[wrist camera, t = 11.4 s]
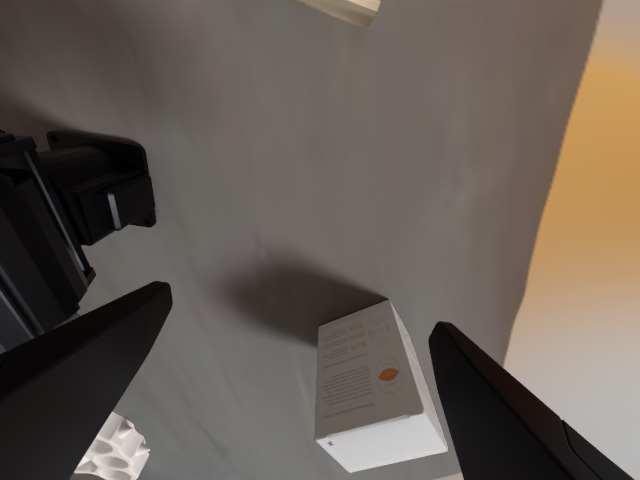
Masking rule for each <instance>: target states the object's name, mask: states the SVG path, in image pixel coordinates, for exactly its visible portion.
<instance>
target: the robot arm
mask: <svg viewBox="0 0 640 480" xmlns="http://www.w3.org/2000/svg"><path fill="white" fill-rule="evenodd" d="M56 137H57V138H58V140H57V139H56ZM47 139H48V143H49V146H50V149H51V150H50V151H45V152H40V153H37V152H36V150H35V148H37V146H36V144H35V142H34V140H33V137H32V136H14V134H11V133H5V131H1V130H0V480H69V479H70V477H71V476H72V474H73V473H74V471H75V469H76V468H77V466H78V465H79V463H80V462H81V460H82V458H83V457H84V455H85V454H86V452H87V450H88V449H89V447H90V446H91V444H92V443H93V441H94V439H95V438H96V436H97V435H98V433H99V431H100V430H101V428H102V427H103V425H104V424H105V422H106V420H107V419H108V417H109V416H110V414H111V413H112V411H113V409H114V408H115V406H116V405H117V403H118V401H119V400H120V398H121V397H122V395H123V394H124V392H125V390H126V389H127V387H128V386H129V384H130V383H131V381H132V379H133V378H134V376H135V375H136V373H137V371H138V370H139V368H140V367H141V365H142V364H143V362H144V360H145V359H146V357H147V355H148V354H149V352H150V350H151V348H152V346H153V345H154V342H155V340H156V338H157V336H158V334H159V332H160V330H161V328H162V326H163V324H164V322H165V320H166V318H167V316H168V314H169V312H170V310H171V308H172V303H173V301H172V294H171V287H170V284H169V283H167V282H161V281H154V282H152V283H150V284H148V285H145V286H143V287H141V288H139V289H137V290H135V291H133V292H131V293H129V294H126V295H124V296H122V297H120V298H118V299H116V300H114V301H112V302H110V303H107V304H105V305H103V306H101V307H99V308H97V309H95V310H93V311H91V312H88V313H86V314H84V315H82V316H80V317H78V318H76V319H74V320H71V321H69V322H67V323H65V322H66V321H67V320H69V319H70V318H71V317H72V316H73V315H74V314H76V312H77V311H78V310H79V309H80V306H79V304H78V303H79V302H80V301H81V299H82V298H83V296H84V294H85V293H86V291H87V288H88V287H89V285H90V284H91V282H92V281H93V279H94V278H95V276H96V273H95V271H94V269H93V267H90V265H89V263H88V261H87V259H86V256H85V254H84V252H83V250H82V248H81V246H82V245H88V246H92V245H93V244H95V243H96V242H98V241H100V240H101V239H103V238H104V237H106V236H108V235H109V234H111V233H112V232H114V231H115V230H116V231H119V230H121V229H123V228H124V227H126V226H127V225H136V226H143V227H152V226H154V225H155V224H156V215H155V209H154V208H155V202H154V195H153V189H152V182H151V177H150V176H149V170H148V164H147V158H146V152H145V149H144V148H143V147H142V146H141V145H139V144H134V143H128V142H122V141H116V140H110V139H104V138H98V137H92V136H86V135H80V134H74V133H68V132H62V131H49V132H48V133H47ZM135 149H136V150H137V151H138V152H139V155H138V154H137V153H136V152H135ZM147 219H148V220H149V221H150V222H151V223H150V222H148V220H147ZM63 323H65V324H63ZM62 324H63V325H62ZM429 349H430V354H431V359H432V365H433V370H434V375H435V380H436V385H437V390H438V393H439V397H440V400H441V404H442V407H443V410H444V414H445V417H446V420H447V424H448V427H449V431H450V434H451V437H452V441H453V444H454V447H455V451H456V454H457V458H458V461H459V464H460V468H461V471H462V474H463V478H464V480H634V479H633V478H632V477H631V476H629V475H628V474H627V473H626V472H624V471H623V470H622V469H621V468H620V467H618V466H617V465H616V464H615V463H613V462H612V461H611V460H610V459H608V458H607V457H606V456H605V455H603V454H602V453H601V452H600V451H599V450H597V449H596V448H595V447H594V446H593V445H592V444H590V443H589V442H588V441H587V440H585V439H584V438H583V437H582V436H581V435H580V434H579V433H577V432H576V431H575V430H574V429H573V428H572V427H570V426H569V425H568V424H567V423H566V422H565V421H564V420H561V419H560V417H559V416H558V415H557V414H556V413H554V412H553V411H552V410H551V409H550V408H548V407H547V406H546V405H545V404H544V403H543V402H542V401H540V400H539V399H538V398H537V397H536V396H535V395H534V394H532V393H531V392H530V391H529V390H528V389H527V388H526V387H524V386H523V385H522V384H521V383H520V382H519V381H517V380H516V379H515V378H514V377H513V376H511V374H509V373H508V372H507V371H506V370H505V369H504V368H503V367H501V366H500V365H499V364H498V363H497V362H496V361H494V360H493V359H492V358H491V357H490V356H489V355H488V354H486V353H485V352H484V351H483V350H482V349H481V348H479V347H478V346H477V345H476V344H475V343H474V342H473V341H471V340H470V339H469V338H468V337H467V336H466V335H465V334H463V333H462V332H461V331H460V330H459V329H458V328H456V327H455V326H454V325H453V324H452V323H449V322H442V321H439V322H437V324H436V325H435V327H434V329H433V331H432V333H431V335H430V337H429Z"/></svg>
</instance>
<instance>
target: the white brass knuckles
mask: <svg viewBox="0 0 640 480" xmlns="http://www.w3.org/2000/svg"><path fill="white" fill-rule="evenodd" d="M148 451H150V449H149V448H148V447H147V446H146V445H145V439H144V436H142V435H140V434H139V433H137V432H136V430H135V429H134V424H132V423H131V422H130V421H129V420H127V419H126V418H125V417H122V416H119V415H117V414H115V413H114V412H112V413H111V414H110V416H109V417H108V419H107V420H106V422H105V424H104V425H103V427H102V428H101V430H100V431H99V433H98V435H97V436H96V438H95V439H94V441H93V443H92V444H91V446H90V447H89V449H88V450H87V452H86V454H85V455H84V457H83V458H82V460H81V462H80V463H79V465H78V466H77V468H76V469H75V471H74V473H90V474H94V475H98V476H100V477H102V478H104V479H107V480H136V479H137V478H138V476H139V474H140V472H141V470H142V468H143V466H144V464H145V462H146V460H147V458H148V456H149V453H147V452H148Z"/></svg>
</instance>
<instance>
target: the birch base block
mask: <svg viewBox="0 0 640 480" xmlns="http://www.w3.org/2000/svg"><path fill="white" fill-rule="evenodd" d="M291 1H294V2H297V3H300V4H302V5H305V6H308V7H310V8H313V9H316V10H318V11H321V12H324V13H326V14H329V15H332V16H334V17H337V18H340V19H342V20H345V21H348V22H350V23H353V24H356V25H358V26H361V27H364V28H366V29H367V28H368V26H369V25H370V23H371V21H372V20H373V18H374V16H375V15H376V13H377V11H378V8H379V5H380V1H381V0H291Z"/></svg>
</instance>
